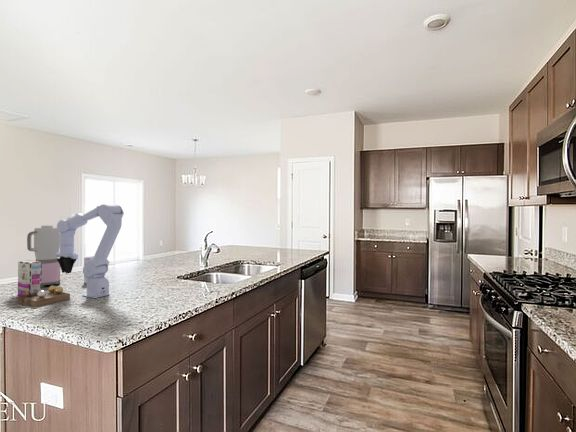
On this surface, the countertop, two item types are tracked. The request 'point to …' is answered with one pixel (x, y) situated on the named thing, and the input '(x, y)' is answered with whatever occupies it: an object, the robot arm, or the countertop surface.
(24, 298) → the brown square tray
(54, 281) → the blender
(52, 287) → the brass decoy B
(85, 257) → the syrup box
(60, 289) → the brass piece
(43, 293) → the steel ball
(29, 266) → the candy bar box
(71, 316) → the countertop surface
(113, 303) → the countertop surface
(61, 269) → the robot arm
